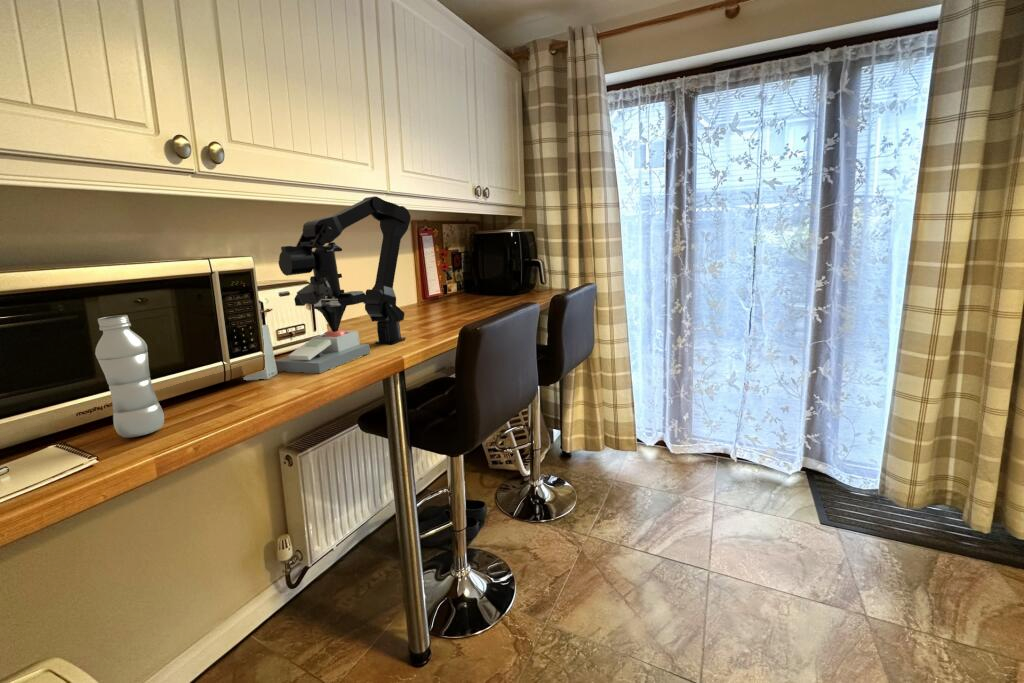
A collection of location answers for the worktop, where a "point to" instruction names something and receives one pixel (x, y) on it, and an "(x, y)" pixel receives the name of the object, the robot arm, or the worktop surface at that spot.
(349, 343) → the grey switch base
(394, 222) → the robot arm
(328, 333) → the breaker button
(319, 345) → the rocker switch
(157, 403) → the plastic bottle
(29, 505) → the worktop surface
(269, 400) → the worktop surface
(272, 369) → the grey tapered stand
